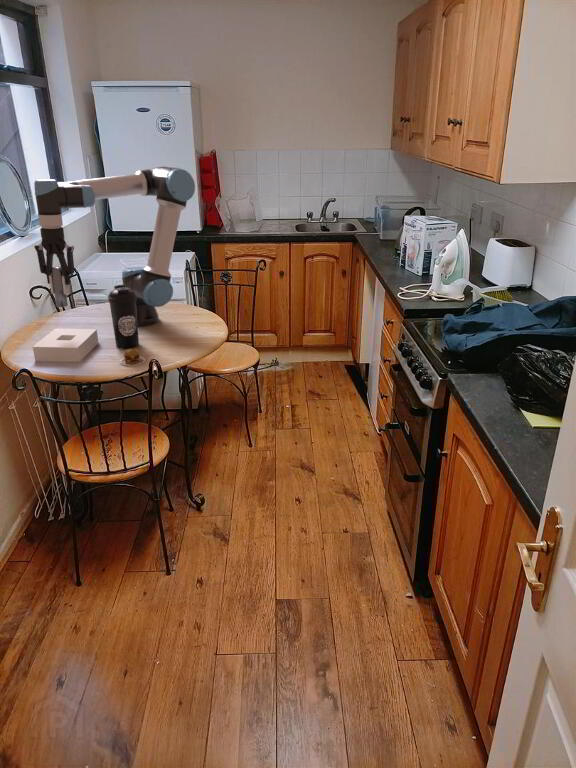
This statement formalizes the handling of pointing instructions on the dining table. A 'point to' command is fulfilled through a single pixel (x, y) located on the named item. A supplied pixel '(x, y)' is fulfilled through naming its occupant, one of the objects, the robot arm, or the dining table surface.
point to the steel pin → (58, 287)
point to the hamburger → (131, 357)
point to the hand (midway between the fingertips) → (60, 292)
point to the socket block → (66, 345)
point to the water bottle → (124, 317)
